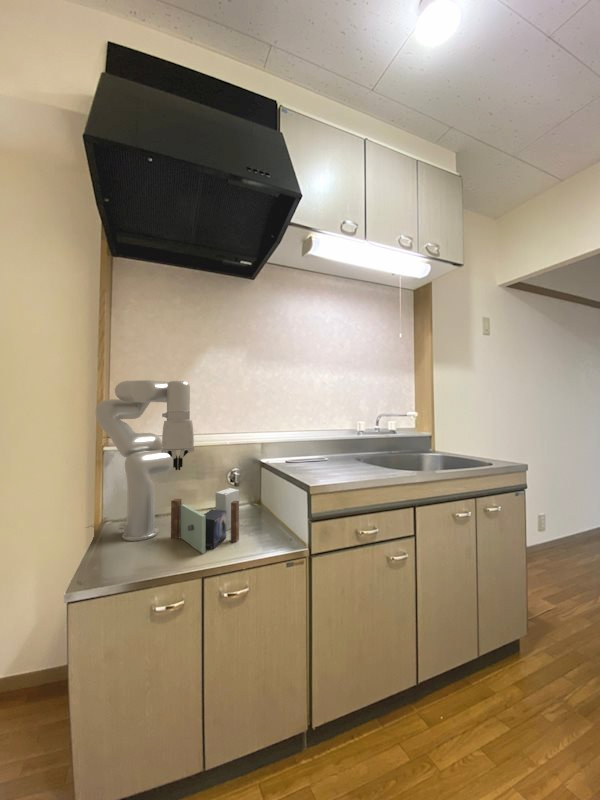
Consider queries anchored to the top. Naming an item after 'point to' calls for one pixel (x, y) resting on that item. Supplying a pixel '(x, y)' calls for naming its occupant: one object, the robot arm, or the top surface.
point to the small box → (215, 528)
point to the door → (192, 527)
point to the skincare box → (226, 503)
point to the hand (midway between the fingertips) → (177, 469)
